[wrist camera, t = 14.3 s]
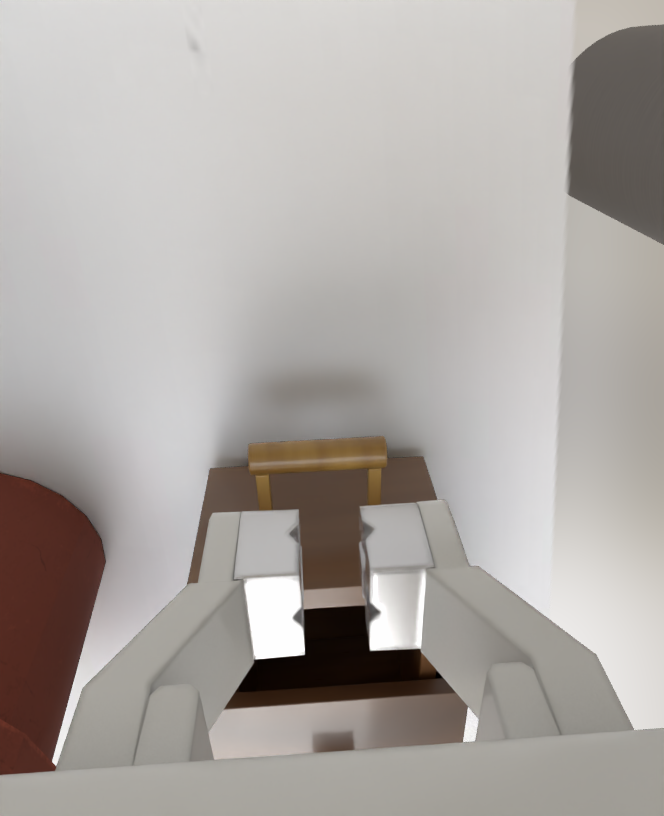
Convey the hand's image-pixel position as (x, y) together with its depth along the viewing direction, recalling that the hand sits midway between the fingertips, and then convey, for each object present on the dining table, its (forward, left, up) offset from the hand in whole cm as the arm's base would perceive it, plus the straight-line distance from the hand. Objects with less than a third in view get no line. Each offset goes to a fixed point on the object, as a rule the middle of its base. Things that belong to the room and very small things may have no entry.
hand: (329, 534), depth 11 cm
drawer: (0, +16, -18) cm, 24 cm away
